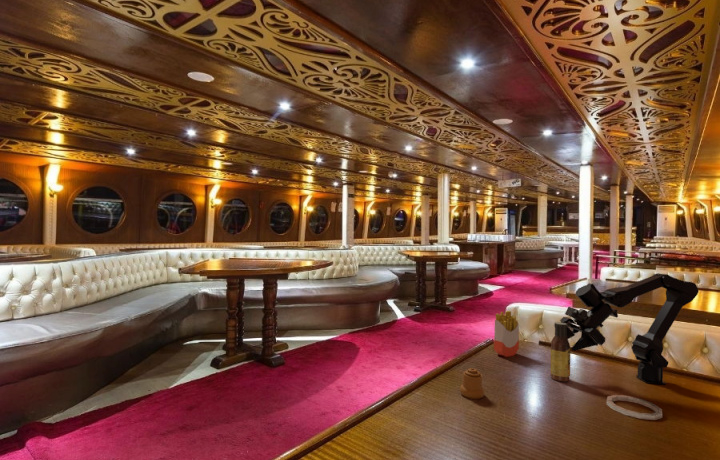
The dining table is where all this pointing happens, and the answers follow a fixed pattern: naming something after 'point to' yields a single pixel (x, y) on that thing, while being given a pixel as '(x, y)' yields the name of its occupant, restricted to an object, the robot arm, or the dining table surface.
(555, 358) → the sauce bottle
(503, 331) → the french fries container
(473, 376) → the ornamental finial
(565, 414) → the dining table surface
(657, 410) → the white faceted ring
